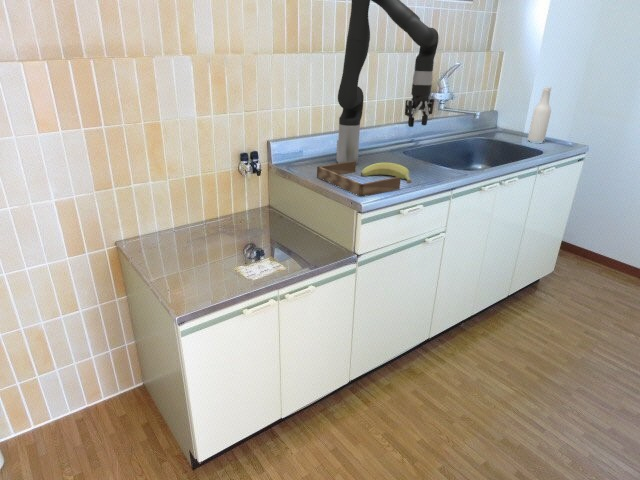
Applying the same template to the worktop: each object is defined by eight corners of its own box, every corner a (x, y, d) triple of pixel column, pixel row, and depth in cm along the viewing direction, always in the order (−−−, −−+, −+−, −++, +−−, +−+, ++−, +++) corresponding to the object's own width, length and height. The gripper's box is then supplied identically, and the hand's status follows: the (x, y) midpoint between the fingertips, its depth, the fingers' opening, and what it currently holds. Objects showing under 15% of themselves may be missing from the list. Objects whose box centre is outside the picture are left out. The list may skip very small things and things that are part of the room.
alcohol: (527, 142, 259) (539, 87, 246) (526, 139, 266) (537, 85, 254) (544, 144, 256) (557, 88, 244) (542, 141, 264) (555, 86, 252)
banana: (380, 154, 193) (419, 169, 182) (380, 165, 197) (418, 181, 185) (359, 167, 186) (398, 184, 175) (359, 179, 190) (398, 196, 179)
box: (316, 177, 184) (317, 166, 183) (353, 171, 194) (354, 160, 193) (360, 197, 163) (361, 184, 162) (399, 188, 173) (400, 177, 172)
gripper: (427, 81, 186) (423, 123, 193) (402, 82, 179) (398, 125, 186) (441, 83, 181) (436, 126, 187) (415, 84, 173) (411, 128, 180)
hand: (417, 125), depth 187 cm, fingers open, 7 cm apart
